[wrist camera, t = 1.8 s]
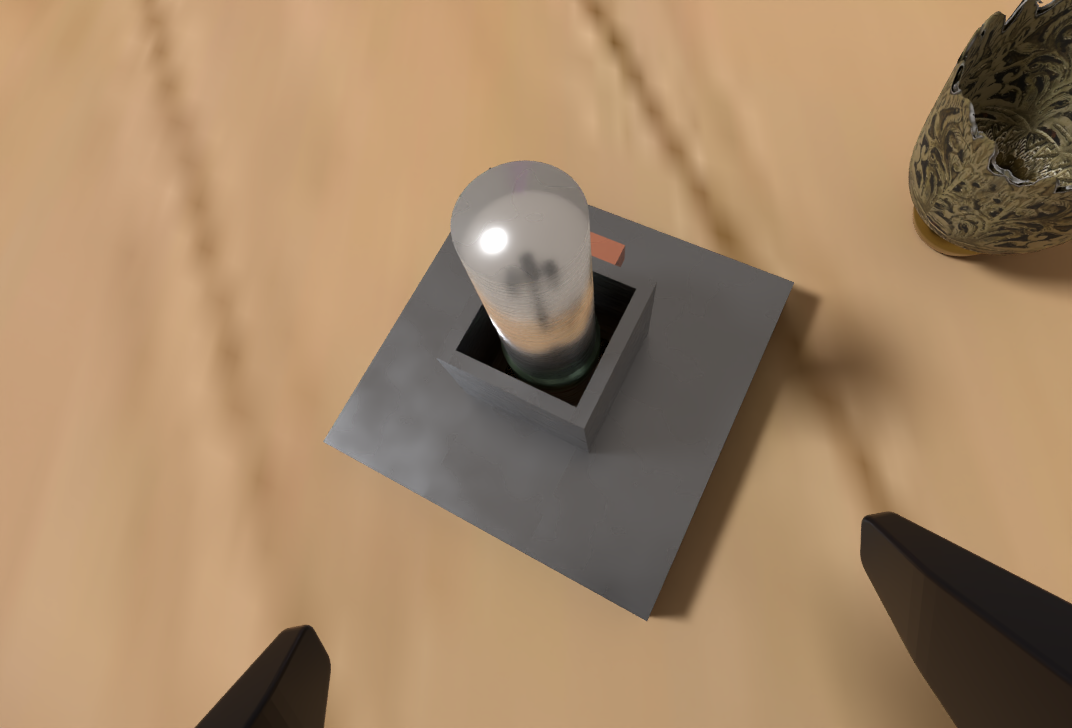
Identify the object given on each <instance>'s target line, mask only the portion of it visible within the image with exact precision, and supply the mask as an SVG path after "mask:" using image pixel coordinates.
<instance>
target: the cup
mask: <svg viewBox="0 0 1072 728" xmlns="http://www.w3.org/2000/svg"><path fill="white" fill-rule="evenodd" d="M1037 2H1039V3H1043V2H1041V1H1040V0H1023V1H1022V2H1021V3H1020V5H1019V6H1018V7H1017V8H1016V10H1015V11H1014V12H1013V14H1012V15H1011V16H1010V18H1009V19H1008V20H1007V21H1006V15H1004V14H1002V13H1001V12H999V11H998V12H996V13H994V14H993V15H991V16H990V17H989V18H988V19H987V20H986V21H985V23H984V24H983V25H982V26H981V27H980V28H978V29H977V31H976V32H975V33H974V35H973V36H972V38H971V39H970V41H969V43H968V44H967V46H966V48H965V49H964V51H963V52H962V54H961V56H960V57H959V59H958V61H957V64H956V66H955V68H954V70H953V71H952V73H951V75H950V77H949V79H948V81H947V82H946V84H945V86H944V88H943V90H942V92H941V93H940V95H939V97H938V99H937V101H936V103H935V105H934V107H933V108H932V110H931V112H930V114H929V116H928V118H927V120H926V122H925V124H924V126H923V128H922V131H921V133H920V135H919V137H918V140H917V142H916V145H915V147H914V150H913V154H912V158H911V161H910V166H909V190H910V194H911V198H912V201H913V204H914V208H913V224H914V227H915V230H916V232H917V234H918V235H919V237H920V238H921V239H922V240H923V241H924V242H925V243H926V244H927V245H928V246H930V247H931V248H933V249H934V250H936V251H938V252H941V253H943V254H947V255H951V256H959V257H964V256H973V255H978V254H983V253H984V254H994V255H1015V254H1024V253H1030V252H1035V251H1040V250H1043V249H1046V248H1049V247H1053V246H1056V245H1059V244H1062V243H1064V242H1067V241H1069V240H1071V239H1072V0H1053V1H1052V2H1050V3H1049V4H1047V5H1045V6H1043V7H1039V5H1038V4H1037Z"/></svg>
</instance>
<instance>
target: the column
mask: <svg viewBox="0 0 1072 728" xmlns="http://www.w3.org/2000/svg"><path fill="white" fill-rule="evenodd" d="M451 237H452V241H453V244H454V247H455V249H456V251H457V253H458V255H459V257H460V259H461V261H462V263H463V265H464V267H465V269H466V271H467V273H468V275H469V277H470V279H471V281H472V283H473V285H474V287H475V289H476V291H477V293H478V295H479V297H480V299H481V301H482V303H483V305H484V307H485V309H486V311H487V313H488V315H489V317H490V319H491V321H492V323H493V325H494V327H495V329H496V331H497V333H498V335H499V337H500V339H501V346H502V350H503V354H504V356H505V358H506V360H507V362H508V364H509V366H510V368H511V370H512V371H513V373H514V374H515V375H516V376H517V377H518V378H519V379H520V380H521V381H522V382H524V383H526V384H528V385H530V386H532V387H534V388H536V389H538V390H541V391H543V392H545V393H547V394H549V395H551V396H553V397H555V398H558V399H560V400H562V401H564V402H566V403H568V404H570V405H572V406H575V405H577V404H578V403H579V401H580V399H581V397H582V395H583V394H584V392H585V390H586V388H587V386H588V384H589V382H590V380H591V378H592V376H593V374H594V372H595V370H596V368H597V366H598V359H599V356H600V350H601V336H600V326H599V323H598V320H597V317H596V315H595V307H594V290H593V273H592V256H591V240H590V223H589V210H588V204H587V201H586V198H585V196H584V194H583V192H582V190H581V188H580V187H579V185H578V184H577V183H576V182H575V181H574V180H573V179H572V178H571V177H570V176H569V175H568V174H566V173H565V172H563V171H562V170H560V169H558V168H556V167H554V166H552V165H549V164H546V163H542V162H536V161H515V162H509V163H505V164H501V165H498V166H496V167H493V168H491V169H489V170H487V171H486V172H484V173H482V174H481V175H479V176H478V177H476V178H475V179H474V180H473V181H472V182H471V183H470V184H469V185H468V186H467V187H466V188H465V189H464V191H463V192H462V193H461V195H460V196H459V198H458V200H457V202H456V204H455V207H454V209H453V213H452V217H451Z"/></svg>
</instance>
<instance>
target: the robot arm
mask: <svg viewBox="0 0 1072 728" xmlns="http://www.w3.org/2000/svg"><path fill="white" fill-rule="evenodd" d="M860 556H861V561H862V564H863V567H864V569H865V571H866V573H867V575H868V577H869V579H870V581H871V583H872V584H873V586H874V588H875V590H876V592H877V594H878V596H879V598H880V600H881V601H882V603H883V605H884V607H885V609H886V611H887V613H888V615H889V616H890V618H891V620H892V622H893V624H894V626H895V628H896V630H897V632H898V633H899V635H900V637H901V639H902V641H903V643H904V645H905V647H906V648H907V650H908V652H909V654H910V656H911V657H912V659H913V661H914V663H915V664H916V666H917V667H918V669H919V671H920V672H921V674H922V675H923V677H924V678H925V680H926V682H927V683H928V685H929V686H930V688H931V689H932V691H933V692H934V694H935V695H936V696H937V698H938V699H939V701H940V702H941V704H942V705H943V707H944V708H945V710H946V711H947V713H948V714H949V716H950V717H951V719H952V720H953V722H954V723H955V725H956V726H957V728H1072V604H1071V603H1069V602H1067V601H1065V600H1063V599H1061V598H1060V597H1058V596H1056V595H1054V594H1052V593H1050V592H1048V591H1046V590H1044V589H1042V588H1040V587H1038V586H1036V585H1034V584H1032V583H1030V582H1028V581H1026V580H1024V579H1023V578H1021V577H1019V576H1017V575H1015V574H1013V573H1011V572H1009V571H1007V570H1005V569H1003V568H1001V567H999V566H997V565H995V564H993V563H991V562H989V561H988V560H986V559H984V558H982V557H980V556H978V555H976V554H974V553H972V552H970V551H968V550H966V549H964V548H962V547H960V546H958V545H956V544H954V543H952V542H951V541H949V540H947V539H945V538H943V537H941V536H939V535H937V534H935V533H933V532H931V531H929V530H927V529H925V528H923V527H921V526H919V525H917V524H916V523H914V522H912V521H910V520H908V519H906V518H904V517H902V516H900V515H898V514H896V513H893V512H882V513H877V514H872V515H867V516H865V517H864V518H863V520H862V524H861V548H860ZM330 673H331V664H330V659H329V656H328V654H327V652H326V650H325V648H324V646H323V645H322V643H321V641H320V639H319V637H318V636H317V634H316V632H315V630H314V629H313V627H311V626H310V625H302V626H296V627H291V628H287V629H285V630H283V631H282V632H281V633H280V634H279V635H278V636H277V637H276V638H275V639H274V641H273V642H272V643H271V644H270V645H269V646H268V647H267V648H266V649H265V651H264V652H263V653H262V654H261V655H260V656H259V657H258V658H257V659H256V660H255V662H254V663H253V664H252V665H251V666H250V667H249V668H248V669H247V670H246V672H245V673H244V674H243V675H242V676H241V677H240V678H239V679H238V680H237V681H236V683H235V684H234V685H233V686H232V687H231V688H230V689H229V690H228V691H227V693H226V694H225V695H224V696H223V697H222V698H221V699H220V700H219V701H218V702H217V704H216V705H215V706H214V707H213V708H212V709H211V710H210V711H209V712H208V714H207V715H206V716H205V717H204V718H203V719H202V720H201V721H200V722H199V723H198V725H197V726H196V727H195V728H324V723H325V714H326V706H327V698H328V690H329V681H330Z"/></svg>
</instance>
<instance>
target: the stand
mask: <svg viewBox="0 0 1072 728" xmlns="http://www.w3.org/2000/svg"><path fill="white" fill-rule="evenodd" d="M489 169H491V168H489ZM588 210H589V223H590V240H591V256H592V273H593V290H594V307H595V315H596V317H597V320H598V323H599V326H600V336H601V337H602V338H604V339H606V340H608V341H610V342H609V344H608V346H607V348H606V350H605V352H604V354H603V356H602V358H601V360H600V362H599V364H598V366H597V368H596V370H595V372H594V374H593V376H592V378H591V380H590V382H589V384H588V386H587V388H586V390H585V392H584V394H583V395H582V397H581V399H580V401H579V403H578V405H577V407H574V406H572V405H570V404H568V403H566V402H564V401H562V400H560V399H558V398H555V397H553V396H551V395H549V394H547V393H545V392H543V391H541V390H538V389H536V388H534V387H532V386H530V385H528V384H526V383H524V382H522V381H519V380H517V379H515V378H513V377H511V376H509V375H507V374H505V373H504V372H505V370H506V368H507V366H508V365H509V364H508V362H507V360H506V358H505V356H504V354H503V350H502V346H501V339H500V337H499V335H498V333H497V331H496V329H495V327H494V325H493V323H492V321H491V319H490V317H489V315H488V313H487V311H486V309H485V307H484V305H483V303H482V301H481V299H480V297H479V295H478V293H477V291H476V289H475V287H474V285H473V283H472V281H471V279H470V277H469V275H468V273H467V271H466V269H465V267H464V265H463V263H462V261H461V259H460V257H459V255H458V253H457V251H456V249H455V247H454V244H453V241H452V237H451V232H450V234H449V236H448V237H447V239H446V241H445V242H444V244H443V245H442V247H441V249H440V250H439V252H438V254H437V255H436V257H435V259H434V260H433V262H432V264H431V265H430V267H429V269H428V270H427V272H426V273H425V275H424V277H423V278H422V280H421V282H420V283H419V285H418V287H417V288H416V290H415V292H414V293H413V295H412V297H411V298H410V300H409V301H408V303H407V305H406V306H405V308H404V310H403V311H402V313H401V315H400V316H399V318H398V320H397V321H396V323H395V324H394V326H393V328H392V329H391V331H390V333H389V334H388V336H387V338H386V339H385V341H384V343H383V344H382V346H381V348H380V349H379V351H378V352H377V354H376V356H375V357H374V359H373V361H372V362H371V364H370V366H369V367H368V369H367V371H366V372H365V374H364V376H363V377H362V379H361V380H360V382H359V384H358V385H357V387H356V389H355V390H354V392H353V394H352V395H351V397H350V399H349V400H348V402H347V403H346V405H345V407H344V408H343V410H342V412H341V413H340V415H339V417H338V418H337V420H336V422H335V423H334V425H333V427H332V428H331V430H330V431H329V433H328V435H327V436H326V438H325V440H324V441H323V442H325V443H327V444H328V445H330V446H332V447H334V448H336V449H337V450H339V451H341V452H343V453H345V454H346V455H348V456H350V457H352V458H354V459H355V460H357V461H359V462H361V463H363V464H364V465H366V466H368V467H370V468H372V469H373V470H375V471H377V472H379V473H381V474H382V475H384V476H386V477H388V478H390V479H391V480H393V481H395V482H397V483H399V484H400V485H402V486H404V487H406V488H408V489H410V490H411V491H413V492H415V493H417V494H419V495H420V496H422V497H424V498H426V499H428V500H429V501H431V502H433V503H435V504H437V505H438V506H440V507H442V508H444V509H446V510H447V511H449V512H451V513H453V514H455V515H456V516H458V517H460V518H462V519H464V520H465V521H467V522H469V523H471V524H473V525H474V526H476V527H478V528H480V529H482V530H483V531H485V532H487V533H489V534H491V535H492V536H494V537H496V538H498V539H500V540H501V541H503V542H505V543H507V544H509V545H510V546H512V547H514V548H516V549H518V550H519V551H521V552H523V553H525V554H527V555H529V556H530V557H532V558H534V559H536V560H538V561H539V562H541V563H543V564H545V565H547V566H548V567H550V568H552V569H554V570H556V571H557V572H559V573H561V574H563V575H565V576H566V577H568V578H570V579H572V580H574V581H575V582H577V583H579V584H581V585H583V586H584V587H586V588H588V589H590V590H592V591H593V592H595V593H597V594H599V595H601V596H602V597H604V598H606V599H608V600H610V601H611V602H613V603H615V604H617V605H619V606H620V607H622V608H624V609H626V610H628V611H629V612H631V613H633V614H635V615H637V616H639V617H640V618H642V619H644V620H646V621H647V620H648V618H649V615H650V613H651V611H652V609H653V606H654V604H655V602H656V599H657V597H658V595H659V592H660V590H661V588H662V586H663V583H664V581H665V579H666V576H667V574H668V572H669V569H670V567H671V565H672V563H673V560H674V558H675V556H676V553H677V551H678V549H679V546H680V544H681V542H682V540H683V537H684V535H685V533H686V530H687V528H688V526H689V523H690V521H691V519H692V517H693V514H694V512H695V510H696V507H697V505H698V503H699V500H700V498H701V496H702V494H703V491H704V489H705V487H706V484H707V482H708V480H709V477H710V475H711V473H712V471H713V468H714V466H715V464H716V461H717V459H718V457H719V454H720V452H721V450H722V448H723V445H724V443H725V441H726V438H727V436H728V434H729V431H730V429H731V427H732V425H733V422H734V420H735V418H736V415H737V413H738V411H739V408H740V406H741V404H742V402H743V399H744V397H745V395H746V392H747V390H748V388H749V385H750V383H751V381H752V379H753V376H754V374H755V372H756V369H757V367H758V365H759V362H760V360H761V358H762V356H763V353H764V351H765V349H766V346H767V344H768V342H769V339H770V337H771V335H772V333H773V330H774V328H775V326H776V323H777V321H778V319H779V316H780V314H781V312H782V310H783V307H784V305H785V303H786V300H787V298H788V296H789V293H790V291H791V289H792V287H793V284H794V282H792V281H789V280H786V279H784V278H781V277H778V276H776V275H773V274H770V273H768V272H765V271H763V270H760V269H757V268H755V267H752V266H749V265H747V264H744V263H741V262H739V261H736V260H733V259H731V258H728V257H725V256H723V255H720V254H717V253H715V252H712V251H710V250H707V249H704V248H702V247H699V246H696V245H694V244H691V243H688V242H686V241H683V240H680V239H678V238H675V237H672V236H670V235H667V234H664V233H662V232H659V231H657V230H654V229H651V228H649V227H646V226H643V225H641V224H638V223H635V222H633V221H630V220H627V219H625V218H622V217H619V216H617V215H614V214H611V213H609V212H606V211H603V210H601V209H598V208H596V207H593V206H590V205H588Z"/></svg>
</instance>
